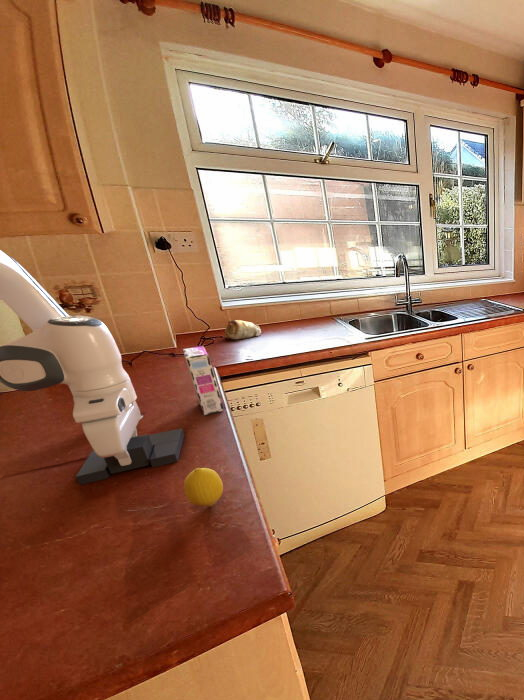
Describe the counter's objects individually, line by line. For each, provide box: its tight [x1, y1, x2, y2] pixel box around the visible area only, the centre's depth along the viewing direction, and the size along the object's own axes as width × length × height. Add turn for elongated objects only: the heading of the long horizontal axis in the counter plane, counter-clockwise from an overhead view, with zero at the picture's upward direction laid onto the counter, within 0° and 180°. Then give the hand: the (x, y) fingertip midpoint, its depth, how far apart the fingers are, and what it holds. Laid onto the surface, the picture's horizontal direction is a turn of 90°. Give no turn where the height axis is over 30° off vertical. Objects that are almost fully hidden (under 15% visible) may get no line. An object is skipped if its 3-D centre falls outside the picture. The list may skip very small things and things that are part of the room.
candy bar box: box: [182, 345, 225, 416], centre depth 115 cm, size 11×5×16 cm, turn 40°
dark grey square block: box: [104, 433, 154, 475], centre depth 90 cm, size 6×6×4 cm
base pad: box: [75, 427, 185, 486], centre depth 93 cm, size 16×14×2 cm
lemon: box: [183, 467, 224, 507], centre depth 76 cm, size 6×6×8 cm
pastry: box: [224, 319, 262, 340], centre depth 187 cm, size 14×12×8 cm
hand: (131, 455), depth 90 cm, fingers closed on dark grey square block, 6 cm apart
